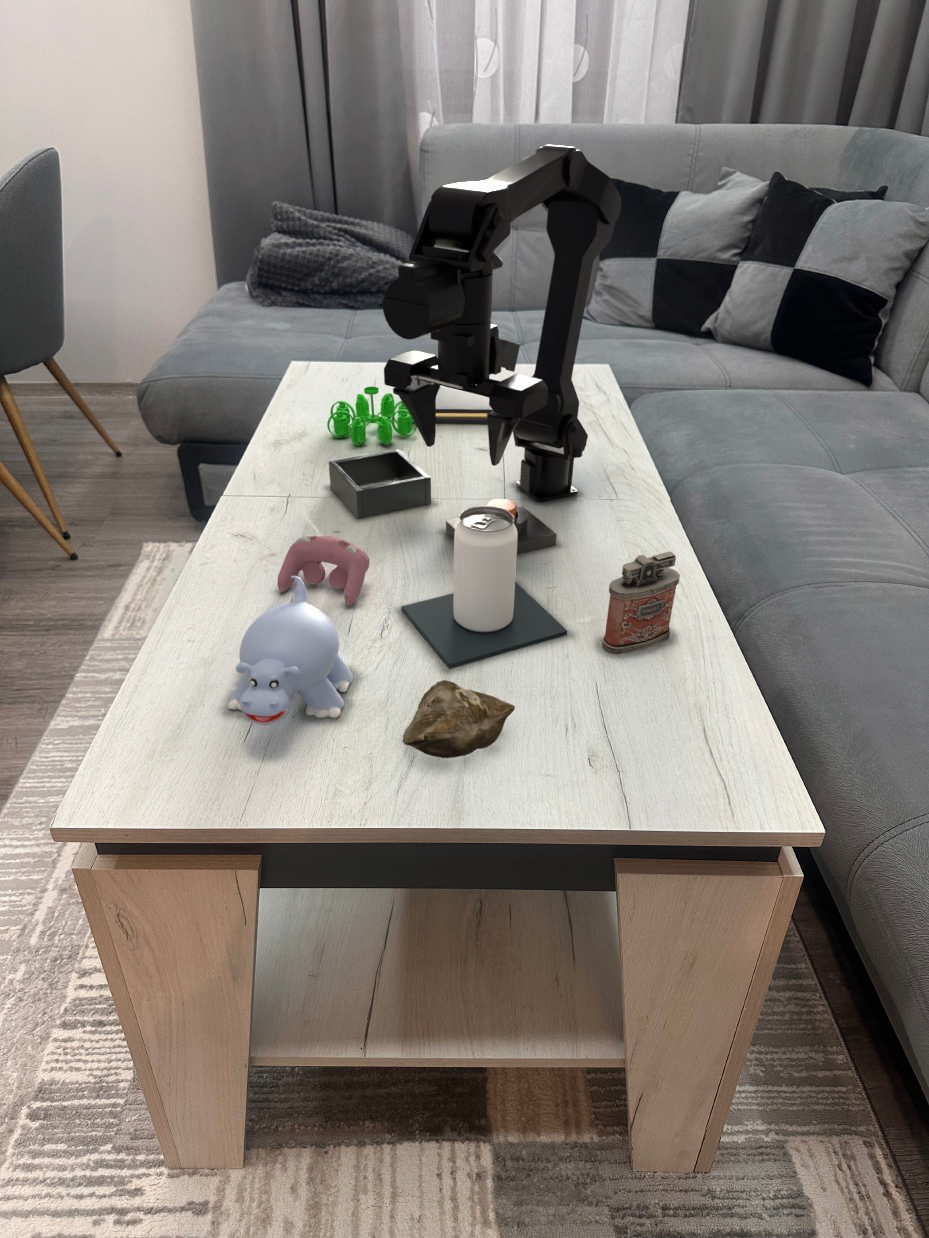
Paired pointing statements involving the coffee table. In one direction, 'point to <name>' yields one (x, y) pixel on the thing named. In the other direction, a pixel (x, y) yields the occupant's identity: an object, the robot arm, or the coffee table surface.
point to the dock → (384, 496)
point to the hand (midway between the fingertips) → (462, 454)
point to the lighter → (641, 604)
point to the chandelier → (370, 418)
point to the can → (484, 568)
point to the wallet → (461, 407)
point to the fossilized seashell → (456, 721)
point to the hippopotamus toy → (290, 663)
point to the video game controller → (330, 550)
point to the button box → (522, 531)
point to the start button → (504, 505)
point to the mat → (470, 646)
